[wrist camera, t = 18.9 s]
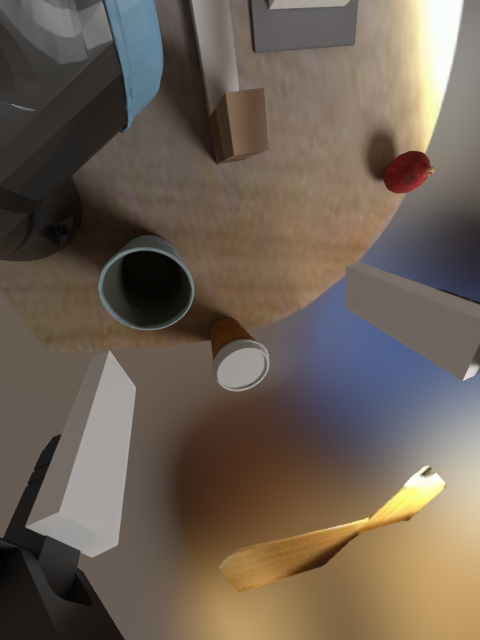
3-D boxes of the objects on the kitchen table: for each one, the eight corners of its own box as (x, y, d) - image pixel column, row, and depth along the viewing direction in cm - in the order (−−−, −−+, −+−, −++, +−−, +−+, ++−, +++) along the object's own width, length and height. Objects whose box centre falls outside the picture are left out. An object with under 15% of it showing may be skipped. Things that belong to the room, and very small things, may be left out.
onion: (373, 198, 42) (414, 199, 35) (372, 162, 39) (416, 156, 32) (400, 185, 42) (445, 184, 35) (401, 148, 39) (451, 139, 32)
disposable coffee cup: (237, 301, 43) (260, 334, 33) (254, 337, 49) (279, 374, 38) (192, 325, 43) (202, 365, 33) (215, 358, 48) (229, 402, 38)
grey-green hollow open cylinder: (187, 236, 35) (198, 253, 25) (182, 297, 40) (190, 332, 30) (114, 225, 32) (93, 239, 22) (117, 292, 36) (100, 330, 26)
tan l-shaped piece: (216, 164, 32) (234, 155, 25) (176, -68, 22) (185, -202, 15) (243, 159, 33) (268, 149, 25) (216, -68, 23) (243, -194, 16)
